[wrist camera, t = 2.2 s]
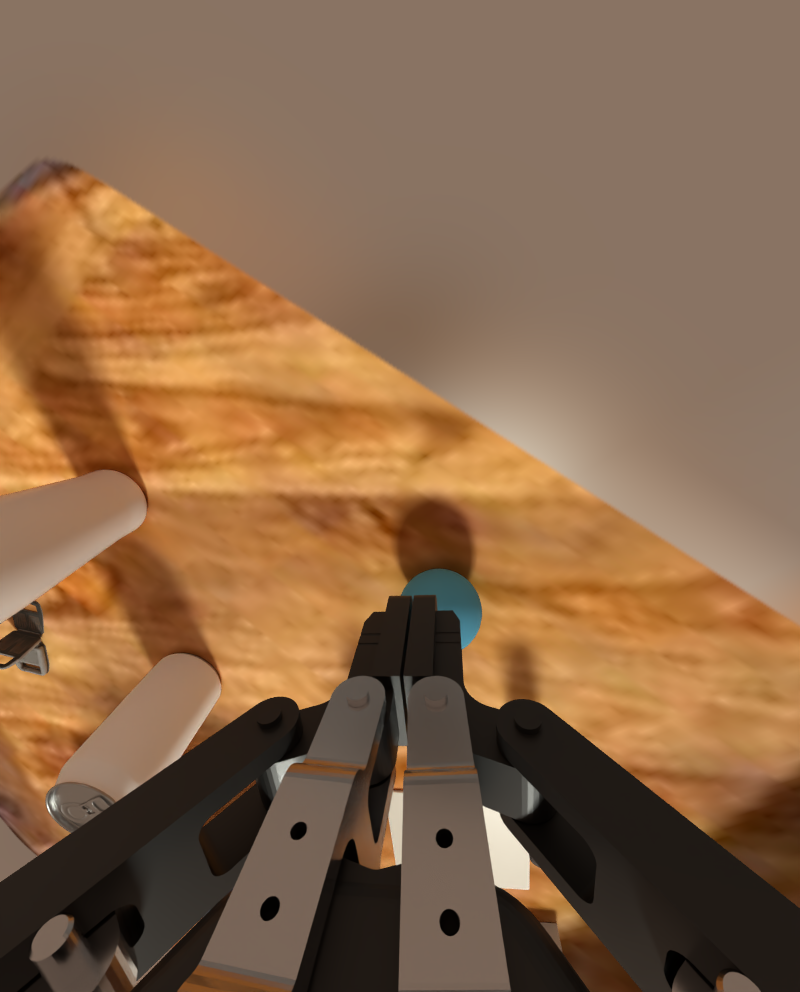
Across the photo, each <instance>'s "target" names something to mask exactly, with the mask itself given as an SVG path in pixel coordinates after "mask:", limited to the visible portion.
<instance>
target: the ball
mask: <svg viewBox="0 0 800 992" xmlns="http://www.w3.org/2000/svg"><path fill="white" fill-rule="evenodd" d="M414 595H436V598H437V609H438V611H440V610H453V611H454V613H455V614H456V615H457V617H458V618H459V620H460V629H461V646H462V649H463V648H465V647H466V646H467V645H468V644H470V643H471V641H472V640H473V639H474V637H475V636H476V634H477V632H478V630H479V627H480V624H481V619H482V608H481V602H480V599H479V596H478V594H477V592H476V590H475V588H474V587H473V586H472V584H471V583H470V582H469V581H468V580H467V579H466V578H464V577H463V576H462V575H460V574H458V573H456V572H454V571H451V570H447V569H431V570H427V571H424V572H422V573H420V574H418V575H417V576H415V577H414V578H413V579H412V580H411V581H410V582H409V583H408V584H407V585H406V587H405V588H404V590H403V592H402V594H401V596H412V599H413V597H414Z"/></svg>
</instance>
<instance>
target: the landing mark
mask: <svg viewBox="0 0 800 992" xmlns="http://www.w3.org/2000/svg"><path fill="white" fill-rule="evenodd" d="M483 812H484V819H485V825H486V832H487V838H488V845H489V851H490V858H491V864H492V871H493V878H494V884H495V885H496V886H497V887H499V888H509V889H524V890H529V860H530V857H529V853H528V852H527V851H526V850H525V849H524V847H523V846H522V845H521V844H520V843H519V841H518V840H517V839H516V838H515V837H514V835H513V834H512V833H511V832H510V831H509V829H508V828H507V827H506V825H505V824H504V823H503V821H502V819H501V816H500V813H499V812H496V811H494V810H491V809H489V808H487V807H484V806H483ZM388 817H389V823H390V829H391V836H392V842H393V849H394V855H395V861H396V865H399V864H402V821H403V791H399V790H393V794H392V799H391V804H390V810H389V815H388Z"/></svg>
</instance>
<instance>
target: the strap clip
mask: <svg viewBox="0 0 800 992" xmlns="http://www.w3.org/2000/svg"><path fill="white" fill-rule="evenodd" d="M31 604H32V605H35V606H36V608H37V612H38V613H37V612H32V611H28V610H24V609H22V610H21V611H19V612H18V613H16V614H15V615H13V620H14V624H15V627H16V628H17V630H18V631H12V632H11V633H9V634H8V635H7V636H5V637H4V638H2V639H1V640H0V655H5V656H9V657H13V659H12V660H10V661H9V662H8V663H6V664H0V669H7V668H9V667H11V666H12V665H14V664H16V665H17V667H18V668H19V669H20V670H22V671H26V672H30V673H34V674H38V675H45V674H46V673H48V671H49V660H48V655H47V650H46V646H45V645H44V644H42V642H41V634H43V633H44V625H43V613H42V609H41V606H40V604H39V603H38V602H35V601H33V602H32V603H31ZM25 663H28V664H32V665H36V666H40V669H39V668H35V667H31V666H27V665H25Z"/></svg>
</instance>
